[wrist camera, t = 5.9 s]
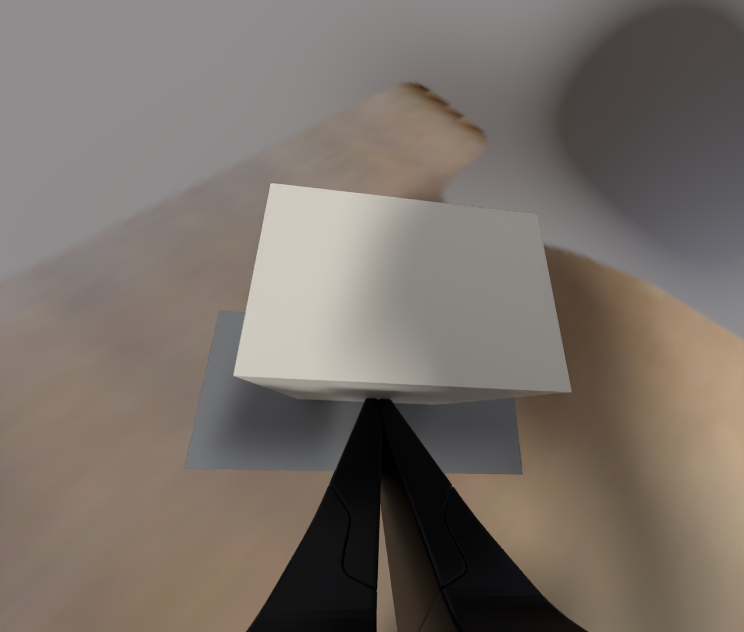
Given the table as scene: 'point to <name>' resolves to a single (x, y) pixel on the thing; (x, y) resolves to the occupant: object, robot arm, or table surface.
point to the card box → (399, 301)
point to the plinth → (330, 424)
